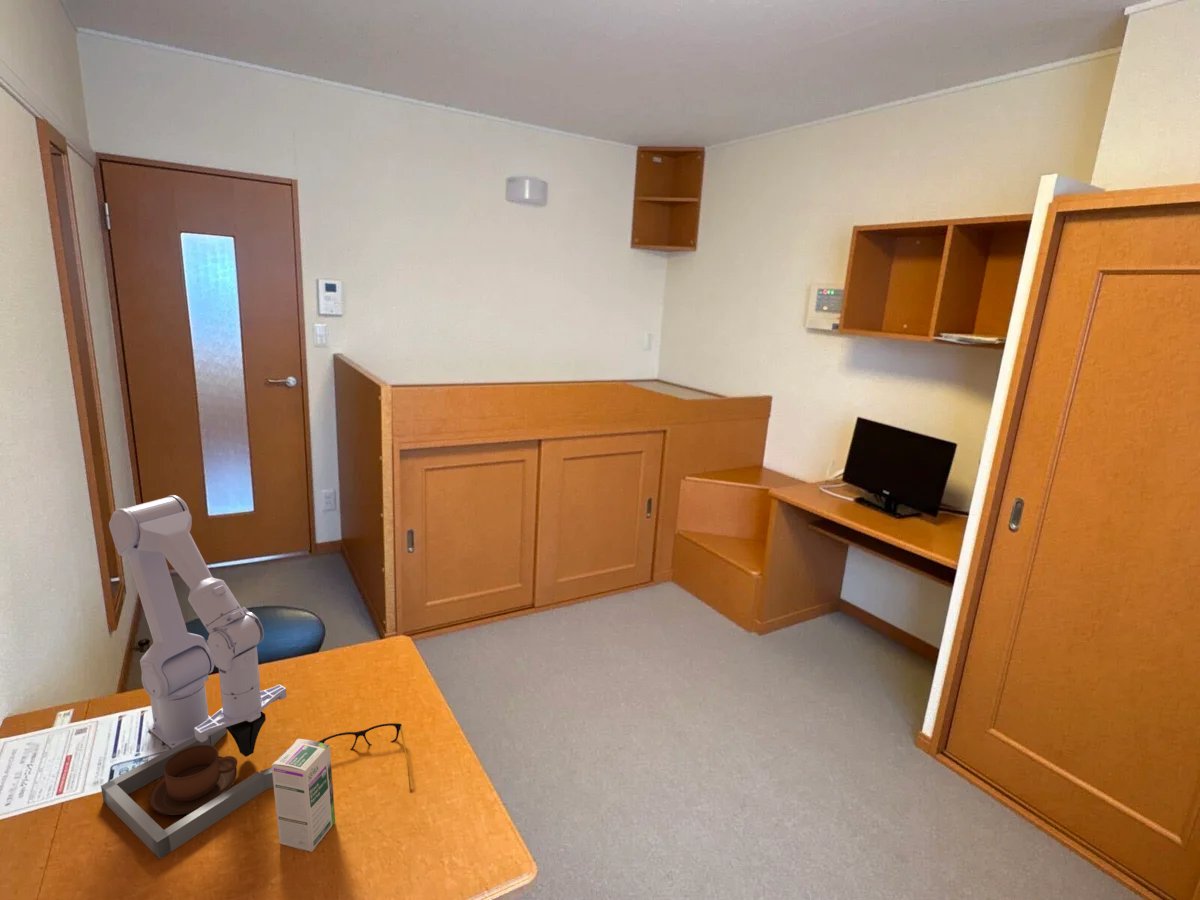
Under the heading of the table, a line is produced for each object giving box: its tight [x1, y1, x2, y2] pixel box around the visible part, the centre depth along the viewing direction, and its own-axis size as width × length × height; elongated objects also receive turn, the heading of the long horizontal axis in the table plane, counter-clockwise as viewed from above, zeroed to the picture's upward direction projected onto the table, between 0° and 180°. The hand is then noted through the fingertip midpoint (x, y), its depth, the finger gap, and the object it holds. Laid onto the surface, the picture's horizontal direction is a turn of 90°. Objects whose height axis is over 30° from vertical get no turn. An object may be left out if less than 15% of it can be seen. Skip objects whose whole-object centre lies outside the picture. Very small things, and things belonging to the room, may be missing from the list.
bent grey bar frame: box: [100, 728, 274, 860], centre depth 101 cm, size 21×19×3 cm
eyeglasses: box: [317, 722, 412, 793], centre depth 106 cm, size 14×14×4 cm
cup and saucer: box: [148, 745, 238, 816], centre depth 100 cm, size 12×12×6 cm
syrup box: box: [271, 738, 336, 853], centre depth 93 cm, size 6×6×14 cm
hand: (246, 752), depth 108 cm, fingers closed
